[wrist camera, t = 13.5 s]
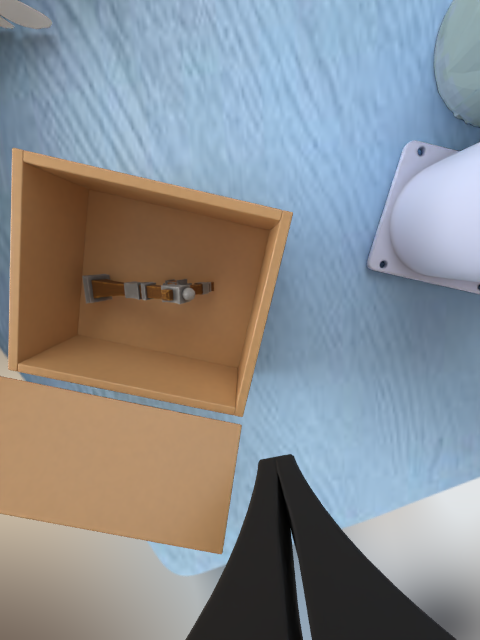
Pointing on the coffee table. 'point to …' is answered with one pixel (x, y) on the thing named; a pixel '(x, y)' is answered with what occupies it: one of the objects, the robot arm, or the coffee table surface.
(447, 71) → the green embossed pot
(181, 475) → the bin flap
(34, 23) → the fairy figurine
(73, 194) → the bin
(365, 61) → the coffee table surface
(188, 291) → the wooden post with brackets
